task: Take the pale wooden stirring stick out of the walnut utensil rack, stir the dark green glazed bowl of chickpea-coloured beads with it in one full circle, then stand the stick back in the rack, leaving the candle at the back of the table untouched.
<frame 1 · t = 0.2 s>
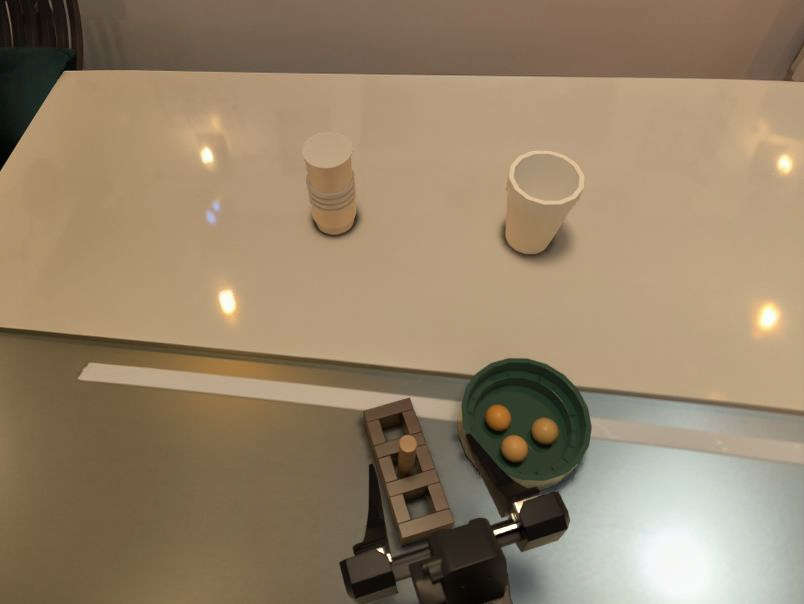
hand: (419, 449, 55), 17 cm above the table, tool horizontal, fingers open, 9 cm apart
rack: (405, 473, 71), on the table
bead b: (544, 430, 70), point 2 cm above the table, touching bowl
bowl: (517, 430, 73), on the table
stick: (406, 459, 66), in the rack
bead a: (498, 417, 72), point 2 cm above the table, touching bowl
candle: (335, 219, 93), on the table
foam cup: (527, 237, 89), on the table
bead c: (514, 448, 69), point 2 cm above the table, touching bowl
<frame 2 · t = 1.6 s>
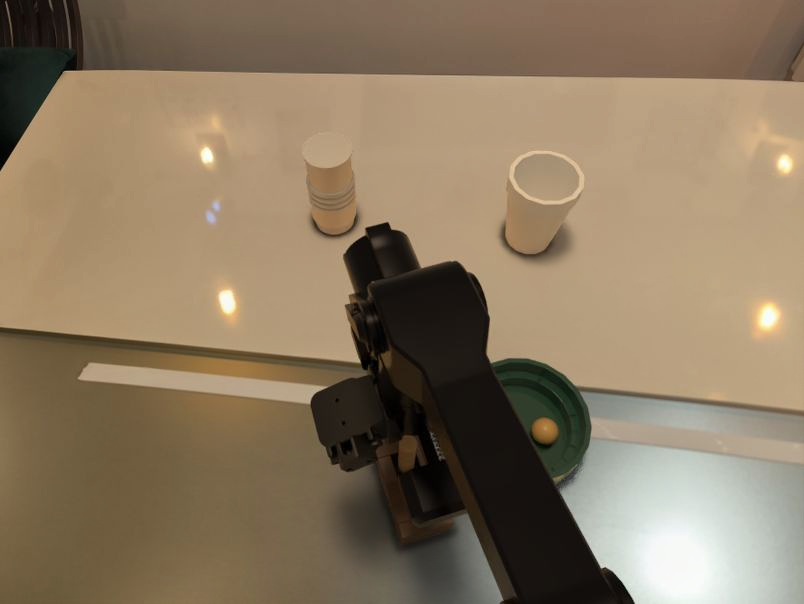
hand: (408, 436, 60), 13 cm above the table, tool pointing down, fingers open, 9 cm apart
nothing on the table moved.
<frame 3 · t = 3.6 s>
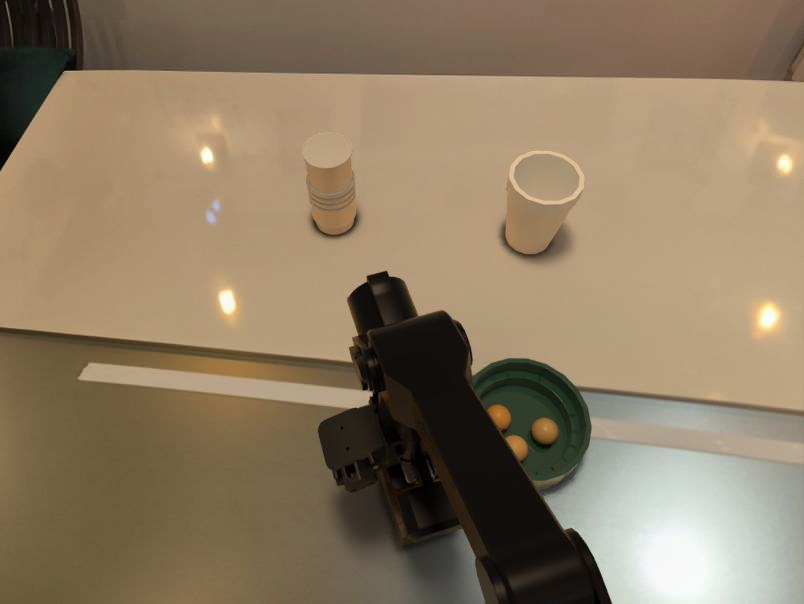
hand: (406, 457, 66), 6 cm above the table, tool pointing down, fingers closed on stick, 2 cm apart
stick: (406, 459, 66), in the rack, touching gripper
everything else where it was.
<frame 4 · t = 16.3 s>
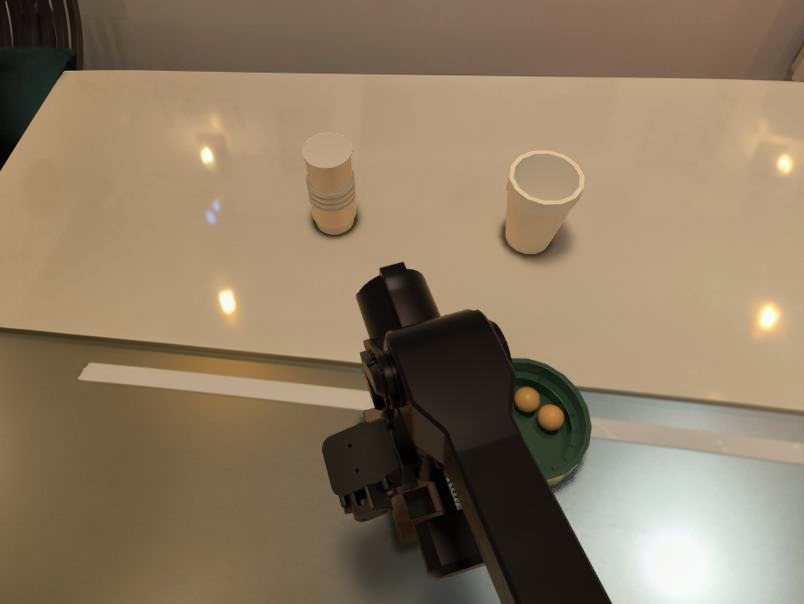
hand: (422, 476, 58), 13 cm above the table, tool pointing down, fingers open, 9 cm apart
bead b: (527, 399, 73), point 2 cm above the table, tilted 104°, touching bowl
stick: (407, 459, 66), in the rack
bead a: (500, 403, 73), point 2 cm above the table, tilted 64°, touching bowl
bead c: (550, 417, 71), point 2 cm above the table, tilted 134°, touching bowl
everything else where it was.
at the end: bead a moved 1.8 cm from its start; stick 0.1 cm off-centre in the rack, point 5.5 cm above the rack's base; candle tilted 0° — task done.
